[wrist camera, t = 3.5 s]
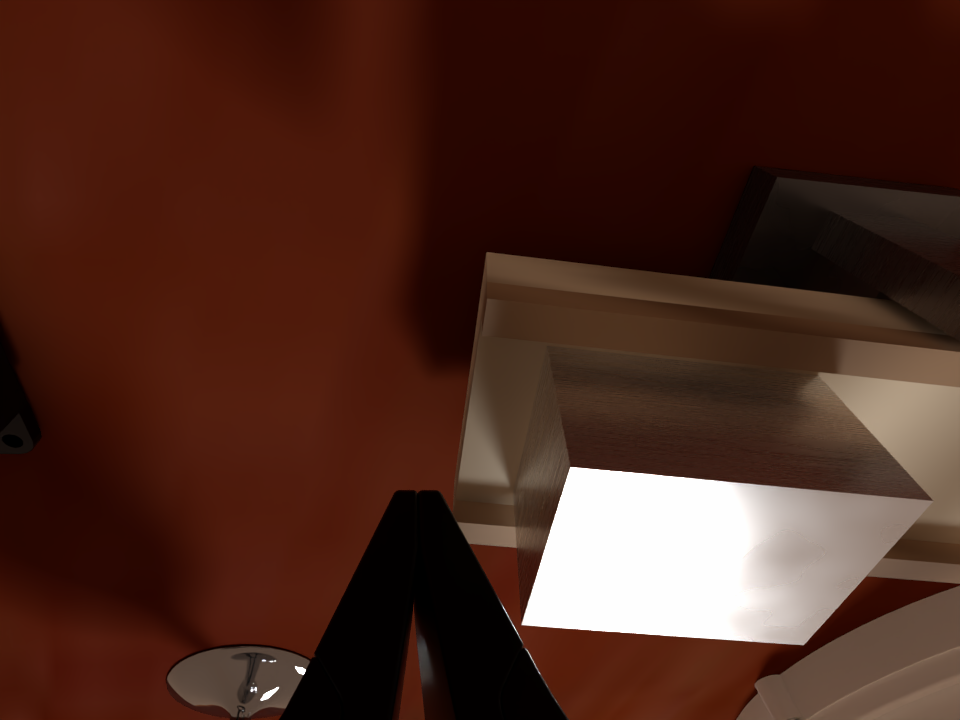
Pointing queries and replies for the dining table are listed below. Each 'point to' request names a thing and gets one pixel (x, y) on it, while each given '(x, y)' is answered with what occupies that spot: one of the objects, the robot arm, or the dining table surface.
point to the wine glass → (237, 681)
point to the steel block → (698, 499)
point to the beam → (716, 340)
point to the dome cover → (875, 671)
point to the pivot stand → (849, 240)
